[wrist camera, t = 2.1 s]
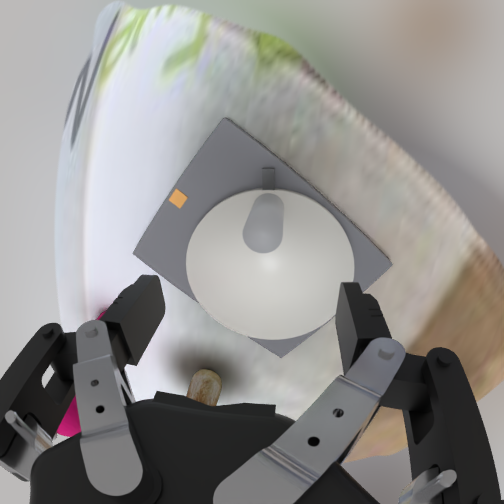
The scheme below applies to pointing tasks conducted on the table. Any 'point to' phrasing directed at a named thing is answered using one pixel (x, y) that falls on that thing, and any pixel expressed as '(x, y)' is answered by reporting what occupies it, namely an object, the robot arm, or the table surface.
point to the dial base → (223, 186)
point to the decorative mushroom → (205, 387)
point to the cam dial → (269, 262)
